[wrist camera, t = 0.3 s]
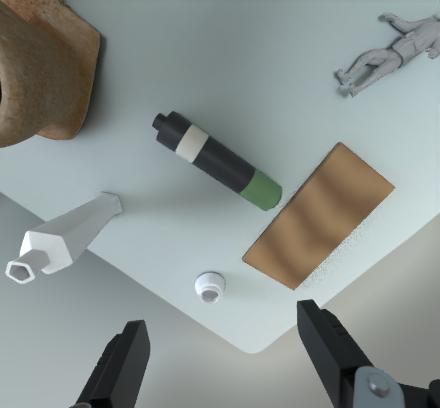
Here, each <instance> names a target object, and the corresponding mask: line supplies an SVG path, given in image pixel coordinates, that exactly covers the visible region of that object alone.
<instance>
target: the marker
mask: <svg viewBox="0 0 440 408" xmlns="http://www.w3.org/2000/svg"><path fill="white" fill-rule="evenodd" d="M152 126H153V127H154V128H156V129H157V130H159V132H158V135H157V141H158V142H160V143H161V144H163V145H165V146H166V147H168V148H169V149H171V150H172V151H174V152H175V153H176V154H178V155H179V156H181V157H182V158H184V159H185V160H187V161H188V162H190V163H192V164H193V165H195V166H197V167H198V168H200V169H201V170H203V171H204V172H206V173H207V174H209V175H210V176H212V177H213V178H215V179H216V180H218V181H219V182H221V183H222V184H224V185H225V186H227V187H229V188H230V189H232V190H233V191H235V192H236V193H238V194H239V195H241V196H242V197H244V198H245V199H247V200H248V201H250V202H251V203H253V204H254V205H256V206H257V207H259V208H261V209H262V210H264V211H267V210H269V209H271V208H274V207H275V206H276V205H277V204H278V203H279V201H280V200H281V194H282V187H281V186H280V185H278V184H277V183H275V182H274V181H273V180H271V179H270V178H268V177H267V176H266V175H264V174H263V173H261V172H260V171H258V170H257V169H256V168H254V167H253V166H251V165H250V164H249V163H247V162H246V161H244V160H243V159H241V158H240V157H239V156H237V155H236V154H234V153H233V152H232V151H230V150H229V149H227V148H226V147H224V146H223V145H222V144H220V143H219V142H217V141H216V140H215V139H213V138H212V137H210V136H209V135H208V134H206V133H205V132H204V131H202V130H201V129H199V128H198V127H197V126H195V125H194V124H192V123H190V122H189V121H188V120H186V119H185V118H183V117H182V116H180V115H179V114H178V113H176V112H175V111H173V112H171V113H170V114H169V115H168V117H165V116H164V115H162V114H161V113H159V114H158V115H157V116H156V118H155V120H154V122H153V125H152Z"/></svg>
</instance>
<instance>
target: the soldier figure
mask: <svg viewBox="0 0 440 408" xmlns="http://www.w3.org/2000/svg"><path fill="white" fill-rule="evenodd" d="M382 16H383V17H384V16H387V17H385V19H383V20H382V21H384V20H391V24H392V25H394V26H395V27H396V28H397V29H399V30H400V31H403V32H405V33H406V32H408V33H407V34H406V35H404V36H402V39H401V40H399V41H398V42H397V43H395V44H394V45H393V46H391V47H390V48H389V49H388V50H385V49H375V50H370V51H368V52H367V53H365V54H364V55H363V56H361V57H360V58H359V59H358V61H357V62H356V64H355V65H354V66H353V67H352V69H351V70H350V71H349V72H348V73H347V74H346V73H343V71H342V69H339V70H338V77H339V78H340V82H341V84H342V85H344V84H345V83H346V82H347V81H348V79H349V78H351V77H352V76H353V75H354V74H356V73H357V72H358V71H359V70H360V69H362V68H363V67H364V66H365V64H370V65H377V66H379V67H377V68H376V69H375V70H374V72H373V73H372V74H371V75H370V76H369V77H368V78H367V79H366V80H365V81H364V82H363V83H362V84H361V85H360V86H357V87H354V84H353V83H351V84H349V86H348V89H349V90H350V95H351V96H352V97H354V96H356V95H357V94H358V93H359V92H360V91H361V90H363V89H365V88H366V87H368V86H369V85H371V84H373V83H374V82H376V80H378V79H379V78H381V77H383V76H385V75H387V74H389V73H391V72H393V71H394V70H395V69H398V68H400V67H402V66H403V65H404V64H406V63H407V62H408V61H409V60H410V59H411V58H413V57H414V56H415V55H418V54H419V53H421V52H422V51H424V50H426V49H428V48H431V49H429V50H427V51H426V52H429V54H428V55H429V56H428V58H431V59H435V58H436V57H438V56H439V55H440V18H436V19H437V20H436V19H434V18H428V19H423V20H419V21H415V22H408V21H405V20H402V19H401V18H399V17H398V16H395V15H393V14H391V13H384V14H382Z"/></svg>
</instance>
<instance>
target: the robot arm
mask: <svg viewBox="0 0 440 408" xmlns="http://www.w3.org/2000/svg"><path fill="white" fill-rule="evenodd" d="M297 325H298V331H299V335H300V338H301V340H302V342H303V344H304V346H305V348H306V350H307V352H308V354H309V357H310V358H311V361H312V363H313V365H314V367H315V369H316V371H317V373H318V375H319V377H320V379H321V381H322V383H323V385H324V387H325V389H326V391H327V393H328V396H329V397H330V400H331V402H332V404H333V406H334V408H440V379H437V380H433V381H432V382H431V383H430V384H429V389H424V388H419V387H414V386H409V385H404V384H400V383H398V382H396V381H395V380H394V379H393V378H392V377H391V376H390V375H389V374H387V373H386V372H384V371H383V370H380V369H378V368H376V367H374V366H373V364H372V363H371V362H370V361H369V359H368V358H367V356H366V355H365V354H364V353H363V351H362V350H361V349H360V347H359V346H358V345H357V343H356V342H355V341H354V340H353V338H352V337H351V336H350V335H349V334H348V332H347V330H346V329H345V328H344V327H343V326H342V324H341V323H340V321H339V320H338V319H337V317H336V316H335V315H333V314H332V313H331V312H329V311H328V310H326V309H322V310H320V309H319V307H318V306H317V305H316V303H315V302H314V300H312V299H310V300H302V301H298V302H297ZM149 356H150V341H149V337H148V332H147V328H146V324H145V321H144V320H136V321H129V322H128V323H127V324H126V326H125V328H124V330H123V332H122V334H117V335H116V336H115V337H114V338H113V339H112V340H111V341H110V342H109V343H108V344H107V346H106V348H105V350H104V352H103V354H102V357H100V359H99V361H98V363H97V366H96V367H95V369H94V370H93V372H92V374H91V376H90V378H89V380H88V382H87V384H86V385H85V387H84V389H83V391H82V393H81V395H80V396H79V398H78V400H77V402H76V404H75V405H73V406H71V407H70V408H134V406H135V403H136V400H137V396H138V393H139V389H140V386H141V383H142V380H143V376H144V373H145V370H146V366H147V363H148V360H149Z"/></svg>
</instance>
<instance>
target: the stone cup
mask: <svg viewBox="0 0 440 408" xmlns="http://www.w3.org/2000/svg"><path fill="white" fill-rule="evenodd" d="M99 47H100V33H99V31H98V30H96V29H95V28H94V27H93V26H91V25H90V24H89V23H87V22H86V21H85V20H83V19H82V18H80V17H79V16H78V15H76V14H75V13H74V12H73V11H72V10H71V9H70V8H69V7H67V6H65V5H64V4H63V3H62V2H61V1H59V0H0V148H3V147H7V146H11V145H14V144H17V143H19V142H22V141H24V140H26V139H28V138H30V137H32V136H33V135H35V134H37V135H40V136H43V137H46V138H49V139H54V140H69V139H72V138H74V137H75V136H76V135H77V134H78V132H79V131H80V129H81V127H82V125H83V122H84V120H85V117H86V114H87V111H88V107H89V103H90V96H91V91H92V86H93V81H94V75H95V69H96V63H97V57H98V52H99Z"/></svg>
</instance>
